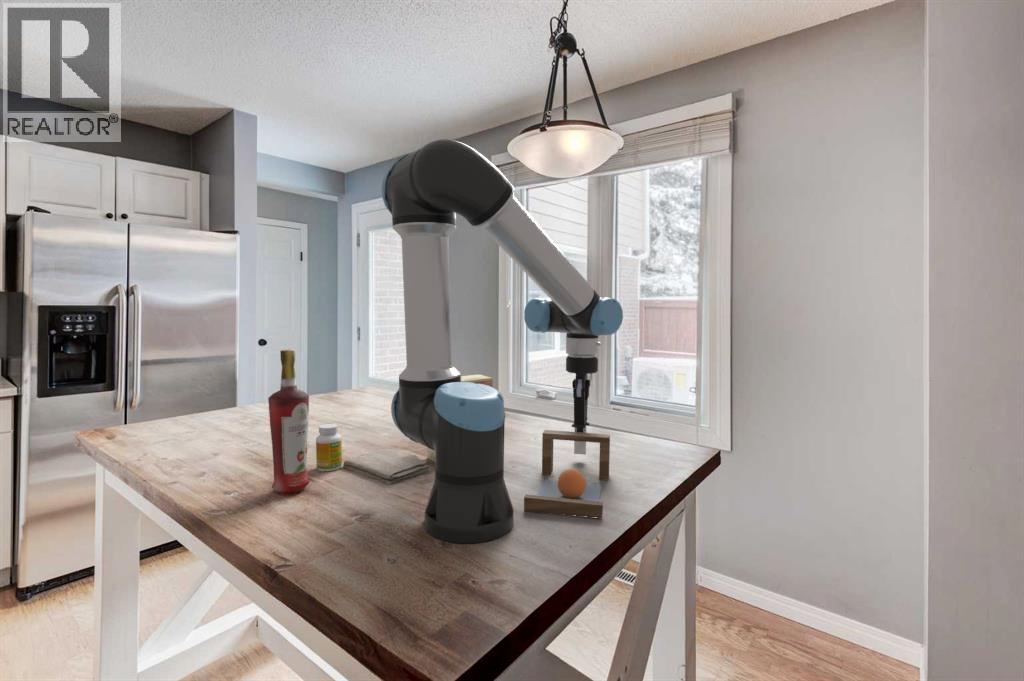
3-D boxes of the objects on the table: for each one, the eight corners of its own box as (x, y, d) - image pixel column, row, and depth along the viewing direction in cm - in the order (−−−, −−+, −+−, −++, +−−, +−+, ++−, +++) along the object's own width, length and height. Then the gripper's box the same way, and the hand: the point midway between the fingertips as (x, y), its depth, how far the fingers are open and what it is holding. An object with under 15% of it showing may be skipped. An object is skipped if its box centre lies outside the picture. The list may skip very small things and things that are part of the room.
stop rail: (602, 519, 86) (602, 505, 86) (523, 510, 90) (524, 497, 90) (602, 515, 88) (602, 502, 88) (525, 507, 91) (525, 494, 91)
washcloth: (391, 488, 102) (391, 473, 102) (340, 470, 113) (340, 456, 112) (433, 472, 111) (433, 459, 111) (382, 457, 122) (382, 445, 122)
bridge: (608, 479, 106) (609, 437, 105) (541, 473, 109) (542, 433, 109) (609, 475, 109) (610, 434, 108) (544, 469, 112) (544, 429, 112)
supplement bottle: (332, 473, 109) (331, 429, 108) (311, 471, 110) (310, 428, 109) (346, 465, 114) (345, 423, 113) (326, 463, 115) (325, 422, 115)
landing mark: (597, 509, 91) (597, 508, 91) (533, 502, 94) (533, 501, 94) (601, 486, 102) (601, 485, 102) (544, 480, 105) (544, 479, 105)
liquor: (294, 481, 103) (291, 348, 101) (318, 487, 100) (316, 350, 98) (262, 493, 97) (258, 351, 95) (287, 500, 94) (284, 353, 91)
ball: (586, 476, 99) (585, 504, 96) (559, 474, 100) (557, 501, 97) (586, 466, 95) (585, 494, 92) (558, 463, 96) (555, 491, 93)
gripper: (596, 359, 110) (593, 462, 112) (599, 353, 123) (597, 446, 124) (562, 357, 112) (560, 460, 113) (569, 352, 124) (567, 444, 126)
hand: (580, 453), depth 119 cm, fingers closed
